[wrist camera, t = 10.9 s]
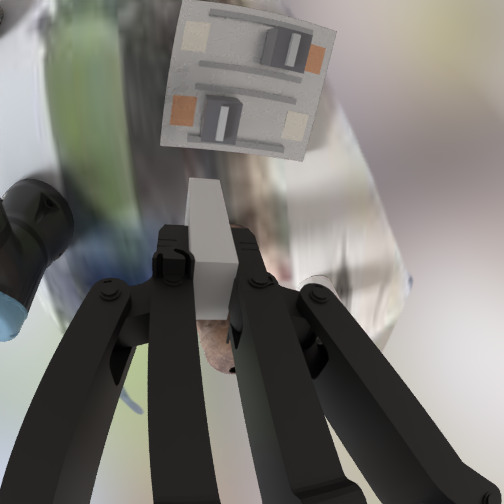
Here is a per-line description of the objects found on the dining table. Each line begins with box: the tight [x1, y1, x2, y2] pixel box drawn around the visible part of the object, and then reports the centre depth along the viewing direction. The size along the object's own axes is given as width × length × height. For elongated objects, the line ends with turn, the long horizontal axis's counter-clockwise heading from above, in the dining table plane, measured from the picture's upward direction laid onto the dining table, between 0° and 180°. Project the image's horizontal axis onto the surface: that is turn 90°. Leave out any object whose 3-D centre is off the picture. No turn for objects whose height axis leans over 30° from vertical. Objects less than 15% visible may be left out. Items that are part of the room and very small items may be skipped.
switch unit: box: [160, 0, 336, 162], centre depth 35 cm, size 20×20×4 cm
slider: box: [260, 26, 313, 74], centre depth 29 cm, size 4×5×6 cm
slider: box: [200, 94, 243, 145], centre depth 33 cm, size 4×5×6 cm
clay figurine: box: [196, 224, 243, 374], centre depth 41 cm, size 13×10×25 cm
